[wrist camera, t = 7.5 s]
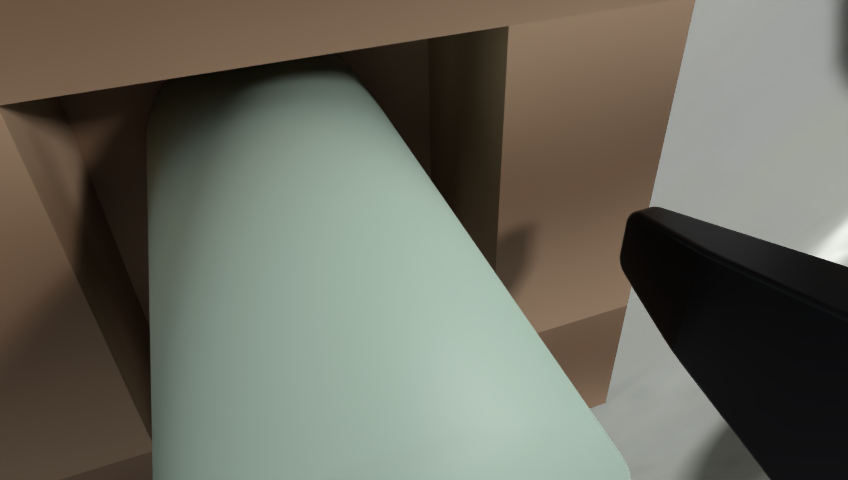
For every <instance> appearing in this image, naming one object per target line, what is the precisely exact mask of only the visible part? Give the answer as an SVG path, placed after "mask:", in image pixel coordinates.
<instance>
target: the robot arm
mask: <svg viewBox="0 0 848 480" xmlns="http://www.w3.org/2000/svg"><path fill="white" fill-rule="evenodd" d="M620 264H621V268H622V270H623V272H624V274H625V276H626V278H627V279H628V281H629V282H630V284H631V286H632V287H633V289H634V291H635V292H636V294H637V295H638V297H639V299H640V300H641V302H642V304H643V305H644V307H645V308H646V310H647V312H648V313H649V315H650V317H651V318H652V320H653V321H654V323H655V325H656V326H657V328H658V330H659V331H660V333H661V334H662V336H663V338H664V339H665V341H666V342H667V344H668V345H669V347H670V348H671V350H672V351H673V353H674V354H675V356H676V357H677V358H678V360H679V361H680V362H681V364H682V365H683V366H684V368H685V369H686V370H687V372H688V373H689V374H690V376H691V377H692V378H693V379H694V381H695V382H696V383H697V385H698V386H699V387H700V389H701V390H702V391H703V393H704V394H705V395H706V396H707V398H708V399H709V400H710V402H711V403H712V404H713V406H714V407H715V408H716V409H717V411H718V412H719V413H720V415H721V416H722V417H723V419H724V420H725V421H726V422H727V424H728V425H729V426H730V428H731V429H732V430H733V432H734V433H735V434H736V435H737V437H738V438H739V439H740V441H741V442H742V443H743V445H744V446H745V447H746V449H747V450H748V451H749V452H750V454H751V455H752V456H753V458H754V459H755V460H756V462H757V463H758V464H759V465H760V467H761V468H762V469H763V471H764V472H765V473H766V475H767V476H768V477H769V478H770V480H848V267H846V266H843V265H840V264H837V263H834V262H831V261H827V260H824V259H821V258H818V257H815V256H812V255H809V254H805V253H802V252H799V251H796V250H793V249H790V248H787V247H783V246H780V245H777V244H774V243H771V242H768V241H765V240H761V239H758V238H755V237H752V236H749V235H746V234H743V233H739V232H736V231H733V230H730V229H727V228H724V227H720V226H717V225H714V224H711V223H708V222H705V221H702V220H698V219H695V218H692V217H689V216H686V215H683V214H680V213H676V212H673V211H670V210H667V209H664V208H661V207H650V208H646V209H642V210H638V211H635V212H633V213H631V214H630V215H629V217H628V218H627V221H626V226H625V231H624V236H623V241H622V246H621V251H620Z"/></svg>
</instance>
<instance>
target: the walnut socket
mask: <svg viewBox="0 0 848 480" xmlns="http://www.w3.org/2000/svg"><path fill="white" fill-rule="evenodd" d="M694 3H695V0H0V480H153V467H152V415H151V364H150V312H149V261H148V210H147V158H146V134H147V123H148V119H149V115H150V112H151V108H152V106H153V104H154V101H155V99H156V97H157V94H158V93H159V91H160V90H161V88H162V86H163V85H164V83H165V82H166V81H167V79H172V78H179V77H185V76H191V75H198V74H204V73H211V72H217V71H223V70H230V69H236V68H243V67H249V66H255V65H262V64H268V63H275V62H281V61H287V60H294V59H300V58H307V57H313V56H319V55H326V54H332V53H334V54H336V55H337V56H339V57H340V58H341V59H342V60H343V61H345V62H346V63H347V64H348V65H349V66H350V67H351V68H352V69H353V70H354V71H355V73H356V74H357V75H358V76H359V77H360V79H361V80H362V81H363V83H364V84H365V86H366V87H367V89H368V90H369V92H370V93H371V94H372V96H373V97H374V99H375V100H376V102H377V103H378V105H379V106H380V107H381V109H382V110H383V112H384V113H385V115H386V116H387V118H388V119H389V120H390V122H391V123H392V125H393V126H394V128H395V129H396V131H397V132H398V133H399V135H400V136H401V138H402V139H403V141H404V142H405V143H406V145H407V146H408V148H409V149H410V151H411V152H412V154H413V155H414V156H415V158H416V159H417V161H418V162H419V164H420V165H421V167H422V168H423V169H424V171H425V172H426V174H427V175H428V177H429V178H430V180H431V181H432V182H433V184H434V185H435V187H436V188H437V190H438V191H439V192H440V194H441V195H442V197H443V198H444V200H445V201H446V203H447V204H448V205H449V207H450V208H451V210H452V211H453V213H454V214H455V216H456V217H457V218H458V220H459V221H460V223H461V224H462V226H463V227H464V229H465V230H466V231H467V233H468V234H469V236H470V237H471V239H472V240H473V242H474V243H475V244H476V246H477V247H478V249H479V250H480V252H481V253H482V254H483V256H484V257H485V259H486V260H487V262H488V263H489V265H490V266H491V267H492V269H493V270H494V272H495V273H496V275H497V276H498V278H499V279H500V280H501V282H502V283H503V285H504V286H505V288H506V289H507V291H508V292H509V293H510V295H511V296H512V298H513V299H514V301H515V302H516V303H517V305H518V306H519V308H520V309H521V311H522V312H523V314H524V315H525V316H526V318H527V319H528V321H529V322H530V324H531V325H532V327H533V328H534V329H535V331H536V332H537V334H538V335H539V337H540V338H541V340H542V341H543V342H544V344H545V345H546V347H547V348H548V350H549V351H550V352H551V354H552V355H553V357H554V358H555V360H556V361H557V363H558V364H559V365H560V367H561V368H562V370H563V371H564V373H565V374H566V376H567V377H568V378H569V380H570V381H571V383H572V384H573V386H574V387H575V389H576V390H577V391H578V393H579V394H580V396H581V397H582V399H583V400H584V402H585V403H586V404H587V406H588V407H589V408H592V407H594V406H597V405H600V404H603V403H605V402H606V397H607V393H608V388H609V384H610V379H611V375H612V370H613V366H614V361H615V357H616V352H617V348H618V343H619V339H620V335H621V330H622V326H623V321H624V317H625V312H626V308H627V303H628V299H629V294H630V290H631V284H630V282H629V281H628V279H627V278H626V276H625V274H624V272H623V270H622V268H621V264H620V251H621V246H622V241H623V236H624V231H625V226H626V221H627V218H628V217H629V215H630V214H631V213H633V212H635V211H638V210H642V209H646V208H649V205H650V200H651V196H652V191H653V187H654V182H655V178H656V173H657V169H658V164H659V160H660V156H661V151H662V147H663V142H664V138H665V133H666V129H667V124H668V120H669V115H670V111H671V106H672V102H673V97H674V93H675V88H676V84H677V79H678V75H679V71H680V66H681V62H682V57H683V53H684V48H685V44H686V39H687V35H688V30H689V26H690V21H691V17H692V12H693V8H694Z"/></svg>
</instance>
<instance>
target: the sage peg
mask: <svg viewBox="0 0 848 480" xmlns="http://www.w3.org/2000/svg"><path fill="white" fill-rule="evenodd" d="M146 158H147V210H148V261H149V312H150V364H151V415H152V467H153V480H631V476H630V471H629V468H628V466H627V464H626V462H625V460H624V458H623V456H622V455H621V453H620V452H619V451H618V449H617V448H616V446H615V445H614V443H613V442H612V440H611V439H610V438H609V436H608V435H607V433H606V432H605V430H604V429H603V427H602V426H601V425H600V423H599V422H598V420H597V419H596V417H595V416H594V414H593V413H592V412H591V410H590V409H589V407H588V406H587V404H586V403H585V402H584V400H583V399H582V397H581V396H580V394H579V393H578V391H577V390H576V389H575V387H574V386H573V384H572V383H571V381H570V380H569V378H568V377H567V376H566V374H565V373H564V371H563V370H562V368H561V367H560V365H559V364H558V363H557V361H556V360H555V358H554V357H553V355H552V354H551V352H550V351H549V350H548V348H547V347H546V345H545V344H544V342H543V341H542V340H541V338H540V337H539V335H538V334H537V332H536V331H535V329H534V328H533V327H532V325H531V324H530V322H529V321H528V319H527V318H526V316H525V315H524V314H523V312H522V311H521V309H520V308H519V306H518V305H517V303H516V302H515V301H514V299H513V298H512V296H511V295H510V293H509V292H508V291H507V289H506V288H505V286H504V285H503V283H502V282H501V280H500V279H499V278H498V276H497V275H496V273H495V272H494V270H493V269H492V267H491V266H490V265H489V263H488V262H487V260H486V259H485V257H484V256H483V254H482V253H481V252H480V250H479V249H478V247H477V246H476V244H475V243H474V242H473V240H472V239H471V237H470V236H469V234H468V233H467V231H466V230H465V229H464V227H463V226H462V224H461V223H460V221H459V220H458V218H457V217H456V216H455V214H454V213H453V211H452V210H451V208H450V207H449V205H448V204H447V203H446V201H445V200H444V198H443V197H442V195H441V194H440V192H439V191H438V190H437V188H436V187H435V185H434V184H433V182H432V181H431V180H430V178H429V177H428V175H427V174H426V172H425V171H424V169H423V168H422V167H421V165H420V164H419V162H418V161H417V159H416V158H415V156H414V155H413V154H412V152H411V151H410V149H409V148H408V146H407V145H406V143H405V142H404V141H403V139H402V138H401V136H400V135H399V133H398V132H397V131H396V129H395V128H394V126H393V125H392V123H391V122H390V120H389V119H388V118H387V116H386V115H385V113H384V112H383V110H382V109H381V107H380V106H379V105H378V103H377V102H376V100H375V99H374V97H373V96H372V94H371V93H370V92H369V90H368V89H367V87H366V86H365V84H364V83H363V81H362V80H361V79H360V77H359V76H358V75H357V74H356V73H355V71H354V70H353V69H352V68H351V67H350V66H349V65H348V64H347V63H346V62H345V61H343V60H342V59H341V58H340V57H339V56H337V55H336V54H334V53H332V54H326V55H319V56H313V57H307V58H300V59H294V60H287V61H281V62H275V63H268V64H262V65H255V66H249V67H243V68H236V69H230V70H223V71H217V72H211V73H204V74H198V75H191V76H185V77H179V78H172V79H167V81H166V82H165V83H164V85H163V86H162V88H161V90H160V91H159V93H158V94H157V97H156V99H155V101H154V104H153V106H152V108H151V112H150V115H149V119H148V123H147V134H146Z"/></svg>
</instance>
